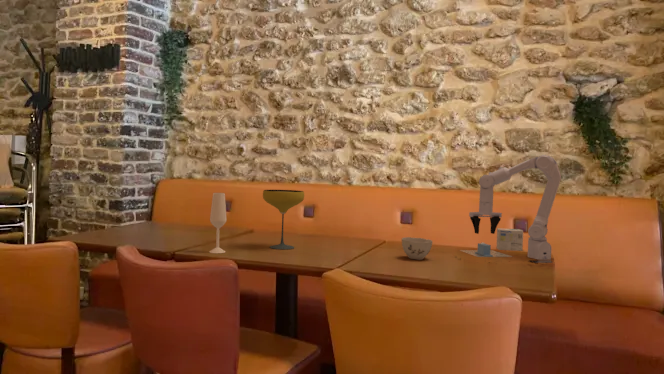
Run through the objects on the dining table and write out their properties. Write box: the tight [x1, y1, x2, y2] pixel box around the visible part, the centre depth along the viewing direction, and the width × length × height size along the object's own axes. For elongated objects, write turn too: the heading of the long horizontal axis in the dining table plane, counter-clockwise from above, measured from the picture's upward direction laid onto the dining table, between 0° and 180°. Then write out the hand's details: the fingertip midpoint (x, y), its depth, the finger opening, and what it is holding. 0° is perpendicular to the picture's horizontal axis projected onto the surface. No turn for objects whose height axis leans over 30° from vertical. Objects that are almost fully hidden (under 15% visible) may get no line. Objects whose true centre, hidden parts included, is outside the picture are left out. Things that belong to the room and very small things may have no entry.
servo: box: [475, 242, 494, 258], centre depth 226 cm, size 9×3×6 cm, turn 13°
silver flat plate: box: [459, 249, 514, 258], centre depth 230 cm, size 17×16×2 cm
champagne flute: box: [209, 192, 228, 254], centre depth 219 cm, size 7×7×24 cm
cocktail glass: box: [262, 189, 305, 250], centre depth 236 cm, size 18×18×25 cm
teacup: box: [401, 236, 433, 261], centre depth 221 cm, size 15×12×8 cm
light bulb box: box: [496, 227, 524, 252], centre depth 245 cm, size 11×7×11 cm, turn 84°
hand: (484, 233), depth 235 cm, fingers open, 7 cm apart
